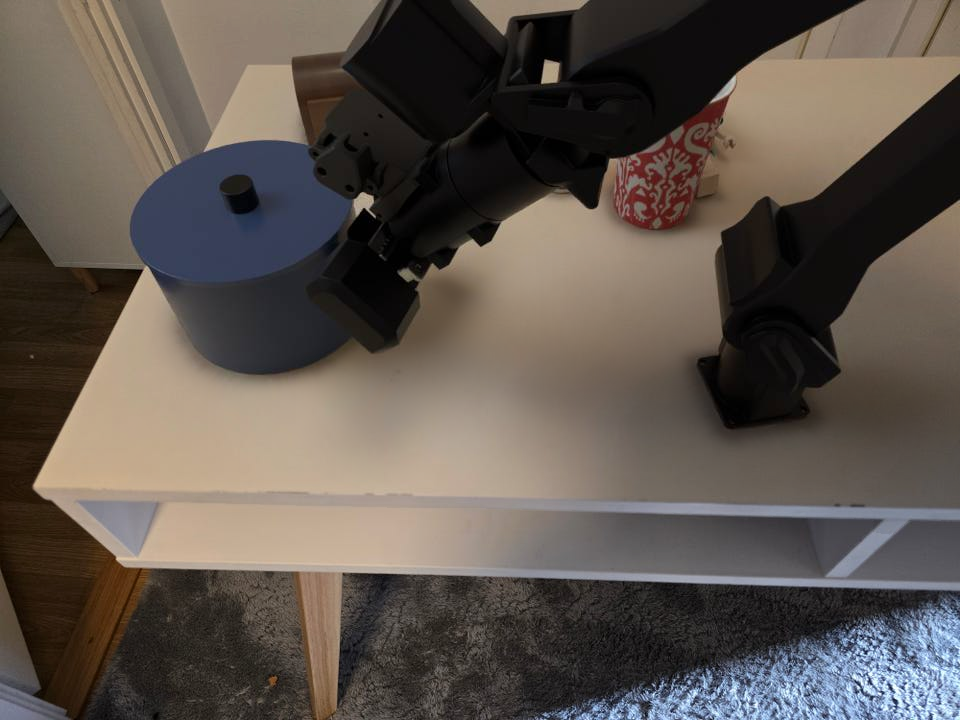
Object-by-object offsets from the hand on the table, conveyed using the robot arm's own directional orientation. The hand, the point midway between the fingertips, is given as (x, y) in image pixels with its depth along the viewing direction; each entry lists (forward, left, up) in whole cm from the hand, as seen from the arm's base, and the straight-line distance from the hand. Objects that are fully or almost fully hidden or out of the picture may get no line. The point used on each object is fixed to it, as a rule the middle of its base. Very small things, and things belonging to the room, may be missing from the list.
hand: (349, 266), depth 51 cm
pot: (+4, +7, -7) cm, 11 cm away
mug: (+12, -29, -7) cm, 32 cm away
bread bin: (+30, -3, -7) cm, 31 cm away
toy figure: (+18, -35, -7) cm, 40 cm away
